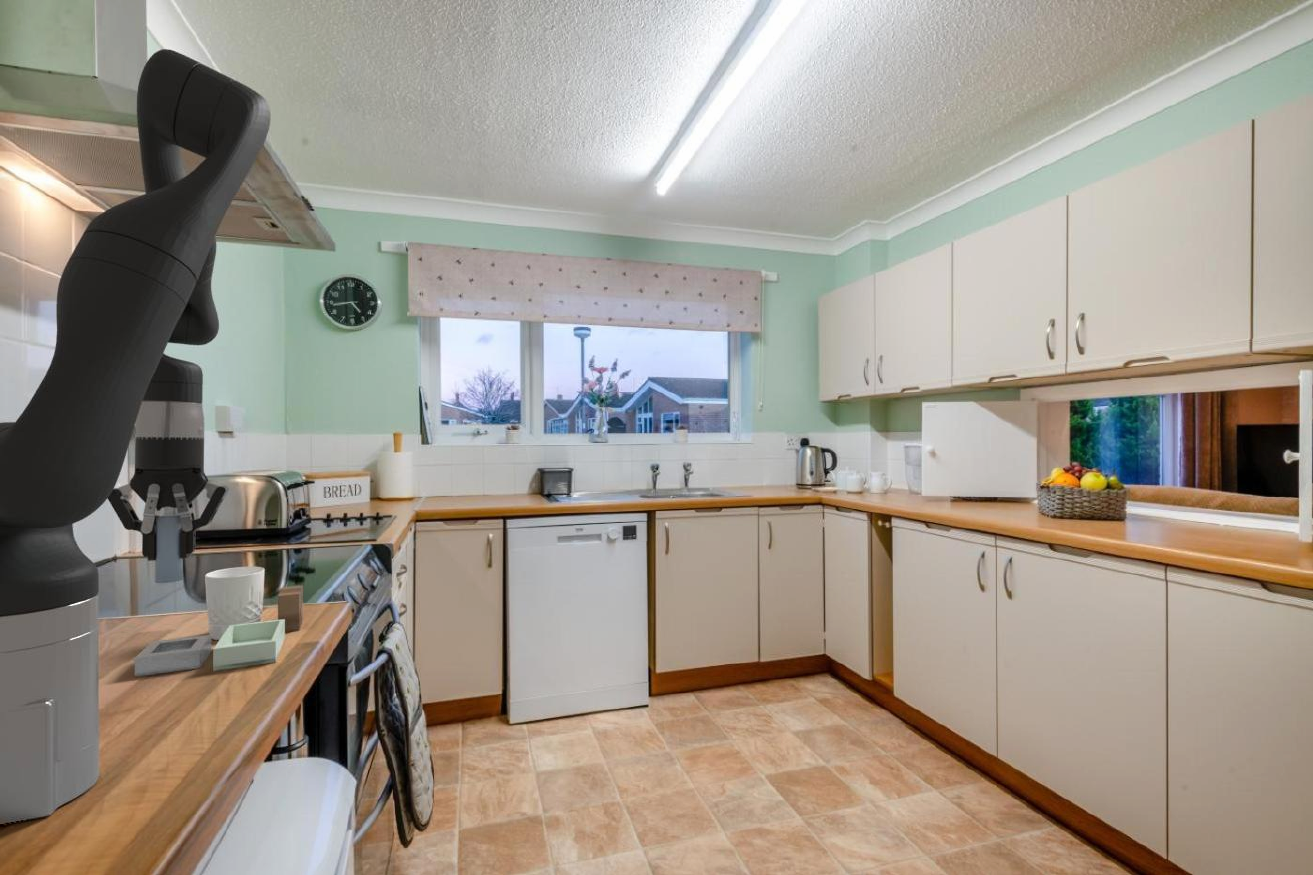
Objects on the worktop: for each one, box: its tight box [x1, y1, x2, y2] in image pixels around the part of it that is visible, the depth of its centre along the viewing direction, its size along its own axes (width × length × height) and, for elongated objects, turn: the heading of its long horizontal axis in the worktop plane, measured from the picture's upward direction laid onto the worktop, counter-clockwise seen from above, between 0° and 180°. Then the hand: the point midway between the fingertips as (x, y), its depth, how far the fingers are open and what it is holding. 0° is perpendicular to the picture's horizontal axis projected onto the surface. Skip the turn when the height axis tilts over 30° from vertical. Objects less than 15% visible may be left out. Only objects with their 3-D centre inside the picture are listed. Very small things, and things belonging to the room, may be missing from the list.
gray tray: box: [134, 634, 212, 678], centre depth 84 cm, size 7×7×2 cm
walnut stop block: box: [277, 585, 304, 633], centre depth 100 cm, size 6×3×6 cm, turn 26°
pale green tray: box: [212, 619, 286, 672], centre depth 88 cm, size 11×7×3 cm, turn 26°
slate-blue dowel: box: [154, 514, 184, 584], centre depth 84 cm, size 3×3×9 cm
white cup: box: [204, 566, 265, 641], centre depth 97 cm, size 8×8×10 cm
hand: (169, 558), depth 84 cm, fingers closed on slate-blue dowel, 3 cm apart
